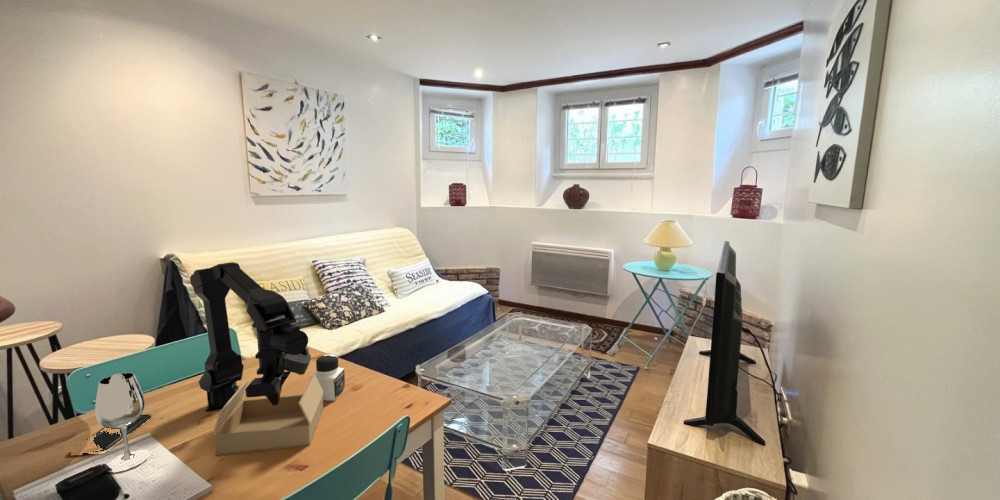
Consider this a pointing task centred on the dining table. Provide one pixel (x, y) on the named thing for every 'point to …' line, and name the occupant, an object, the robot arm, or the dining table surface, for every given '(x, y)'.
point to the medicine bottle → (330, 377)
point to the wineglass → (119, 404)
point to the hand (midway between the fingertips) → (275, 404)
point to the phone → (109, 440)
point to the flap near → (230, 406)
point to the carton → (266, 426)
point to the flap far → (311, 398)
